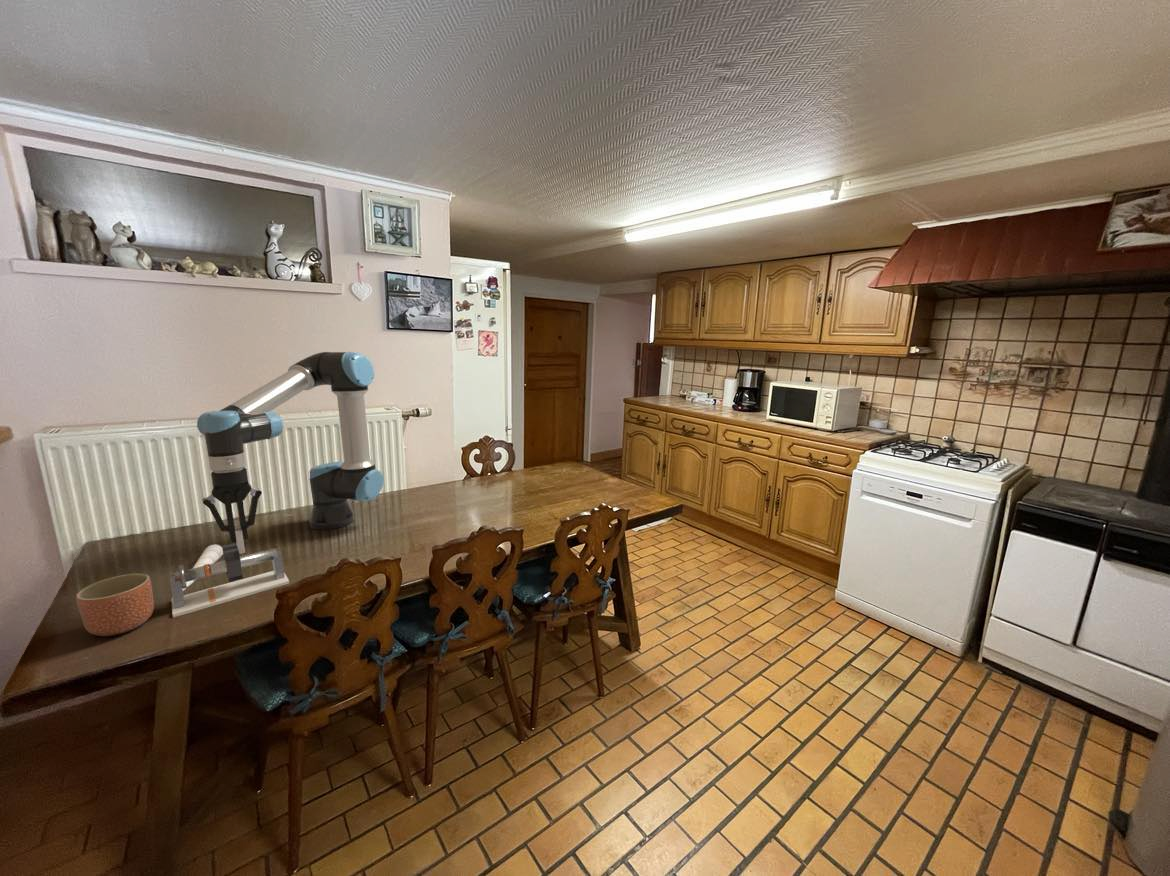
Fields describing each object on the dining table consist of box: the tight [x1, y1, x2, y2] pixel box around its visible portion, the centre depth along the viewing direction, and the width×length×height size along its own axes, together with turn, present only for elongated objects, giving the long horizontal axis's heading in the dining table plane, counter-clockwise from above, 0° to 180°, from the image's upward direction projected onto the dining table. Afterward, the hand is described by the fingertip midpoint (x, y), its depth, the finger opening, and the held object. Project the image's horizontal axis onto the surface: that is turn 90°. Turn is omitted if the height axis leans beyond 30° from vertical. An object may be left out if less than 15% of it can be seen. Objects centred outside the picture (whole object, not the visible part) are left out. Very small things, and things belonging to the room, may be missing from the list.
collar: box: [221, 542, 244, 583], centre depth 125 cm, size 7×3×8 cm, turn 43°
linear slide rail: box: [169, 547, 285, 609], centre depth 125 cm, size 6×24×11 cm, turn 133°
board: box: [171, 570, 290, 618], centre depth 126 cm, size 10×25×1 cm, turn 133°
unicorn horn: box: [183, 544, 224, 592], centre depth 135 cm, size 5×24×5 cm, turn 15°
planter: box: [75, 572, 155, 637], centre depth 109 cm, size 12×12×11 cm
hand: (241, 551), depth 126 cm, fingers closed
